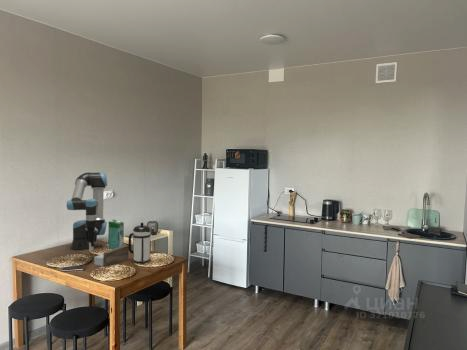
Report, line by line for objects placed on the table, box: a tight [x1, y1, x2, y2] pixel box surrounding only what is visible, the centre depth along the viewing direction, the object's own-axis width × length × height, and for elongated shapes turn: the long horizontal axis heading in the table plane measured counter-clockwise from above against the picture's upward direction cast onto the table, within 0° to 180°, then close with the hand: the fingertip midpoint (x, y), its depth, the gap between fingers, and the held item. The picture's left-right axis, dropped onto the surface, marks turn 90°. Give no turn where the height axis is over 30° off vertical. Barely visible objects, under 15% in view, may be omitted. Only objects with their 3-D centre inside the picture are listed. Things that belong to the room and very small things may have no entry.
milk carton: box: [107, 219, 125, 249], centre depth 295 cm, size 9×9×25 cm
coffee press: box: [128, 222, 152, 264], centre depth 265 cm, size 17×16×30 cm
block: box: [93, 253, 104, 267], centre depth 259 cm, size 8×10×6 cm
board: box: [102, 245, 129, 267], centre depth 262 cm, size 4×22×10 cm, turn 156°
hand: (91, 250), depth 265 cm, fingers closed
